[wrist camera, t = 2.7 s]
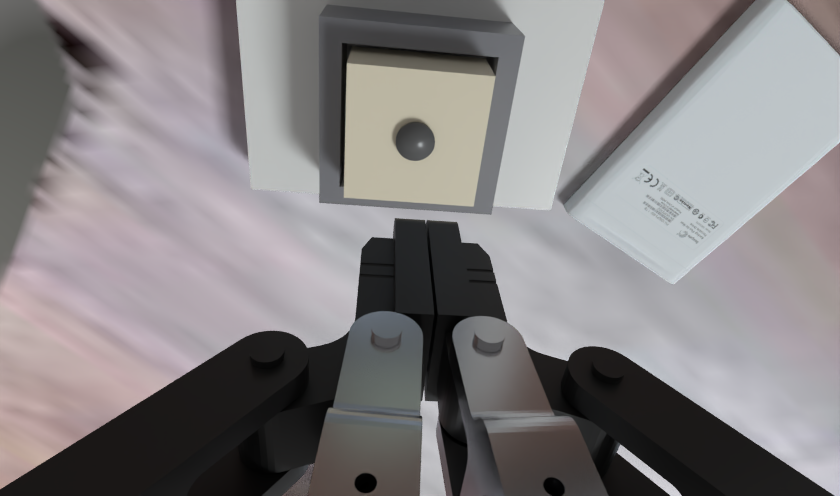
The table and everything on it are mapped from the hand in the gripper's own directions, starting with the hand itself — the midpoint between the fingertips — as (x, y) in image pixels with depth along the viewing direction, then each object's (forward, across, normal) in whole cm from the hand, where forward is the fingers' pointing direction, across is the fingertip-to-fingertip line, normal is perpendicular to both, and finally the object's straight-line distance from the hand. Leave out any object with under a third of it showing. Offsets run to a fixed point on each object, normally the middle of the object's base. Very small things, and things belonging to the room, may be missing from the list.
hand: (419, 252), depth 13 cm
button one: (+10, 0, 0) cm, 10 cm away
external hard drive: (+14, -15, +2) cm, 21 cm away
